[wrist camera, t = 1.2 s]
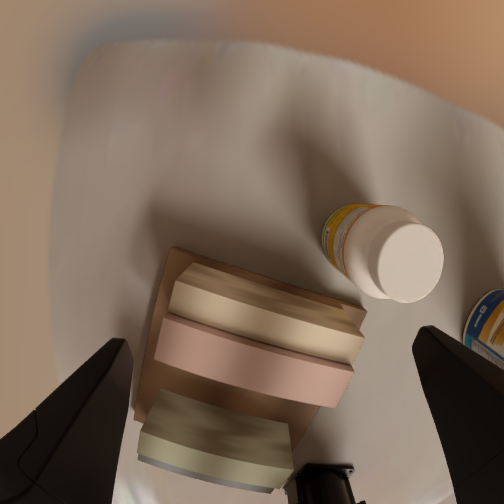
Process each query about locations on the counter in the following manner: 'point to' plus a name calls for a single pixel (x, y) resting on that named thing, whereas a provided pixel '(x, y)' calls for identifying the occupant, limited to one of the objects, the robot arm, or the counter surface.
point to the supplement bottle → (383, 251)
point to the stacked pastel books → (238, 371)
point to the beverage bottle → (487, 328)
